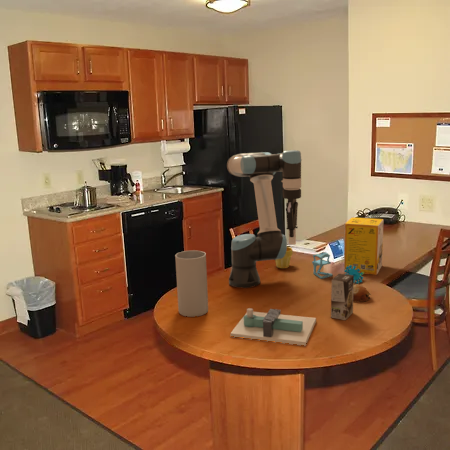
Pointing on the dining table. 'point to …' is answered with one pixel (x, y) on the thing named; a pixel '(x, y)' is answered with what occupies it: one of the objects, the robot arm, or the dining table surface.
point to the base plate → (277, 330)
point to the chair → (321, 264)
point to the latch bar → (280, 324)
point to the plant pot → (284, 259)
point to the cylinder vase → (192, 283)
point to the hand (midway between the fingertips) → (292, 243)
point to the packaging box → (363, 244)
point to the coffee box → (342, 296)
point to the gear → (354, 273)
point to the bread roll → (360, 293)
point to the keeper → (270, 322)
